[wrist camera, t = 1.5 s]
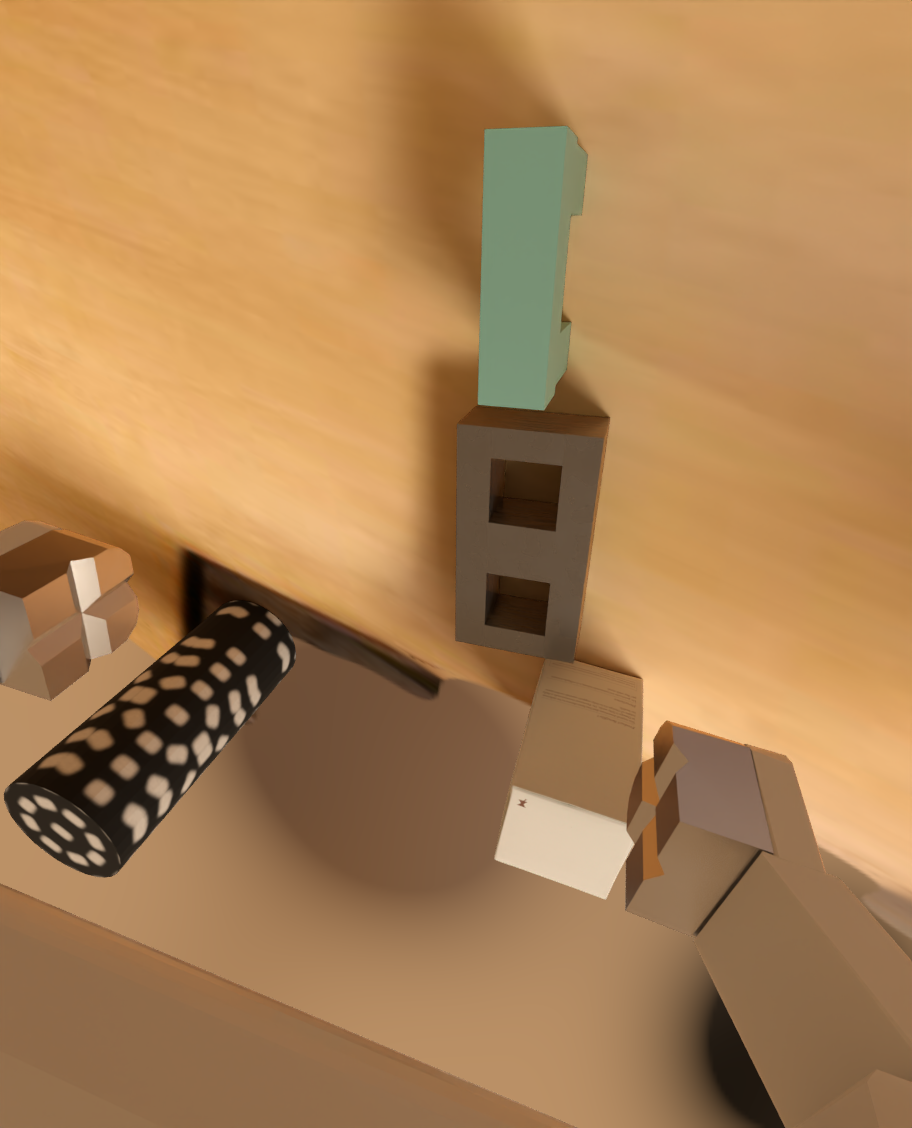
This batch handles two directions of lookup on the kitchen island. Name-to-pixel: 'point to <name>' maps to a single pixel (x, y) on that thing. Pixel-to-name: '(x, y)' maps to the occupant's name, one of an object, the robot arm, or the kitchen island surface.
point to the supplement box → (575, 777)
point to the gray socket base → (525, 528)
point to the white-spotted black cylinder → (151, 741)
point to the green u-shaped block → (526, 262)
